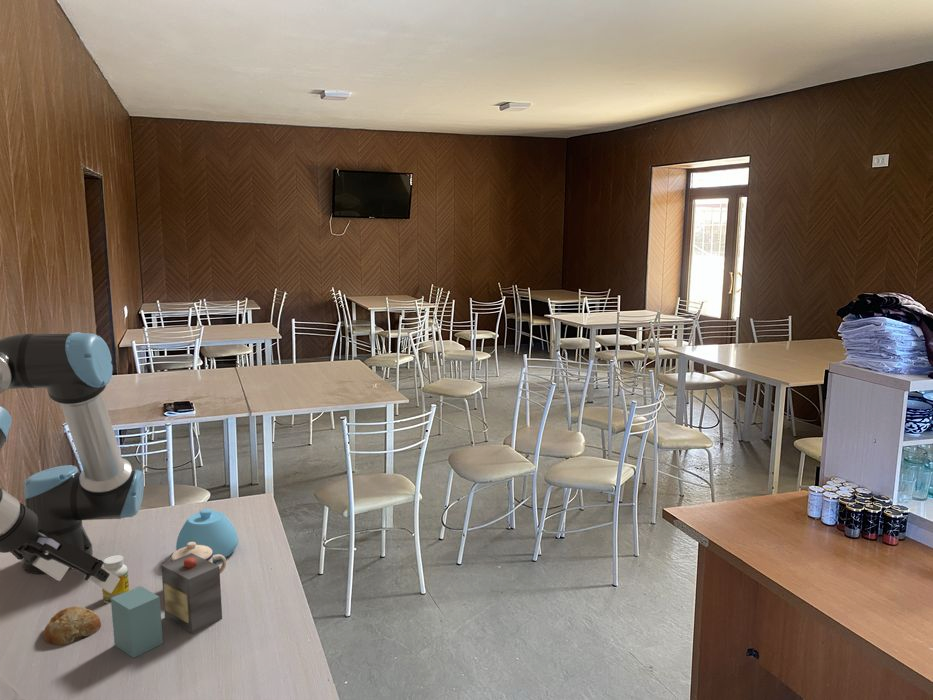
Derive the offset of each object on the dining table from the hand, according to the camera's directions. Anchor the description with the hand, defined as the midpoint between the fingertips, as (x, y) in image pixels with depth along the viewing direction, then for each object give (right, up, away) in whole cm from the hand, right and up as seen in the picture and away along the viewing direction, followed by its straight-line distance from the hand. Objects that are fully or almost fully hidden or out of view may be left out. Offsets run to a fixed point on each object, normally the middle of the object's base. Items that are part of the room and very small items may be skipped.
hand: (88, 579), depth 128 cm
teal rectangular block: (+4, -16, +11) cm, 20 cm away
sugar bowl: (+2, -11, +53) cm, 54 cm away
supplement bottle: (-10, -14, +30) cm, 35 cm away
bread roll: (-12, -17, +16) cm, 26 cm away
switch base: (+7, -17, +15) cm, 23 cm away
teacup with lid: (+7, -14, +35) cm, 38 cm away
